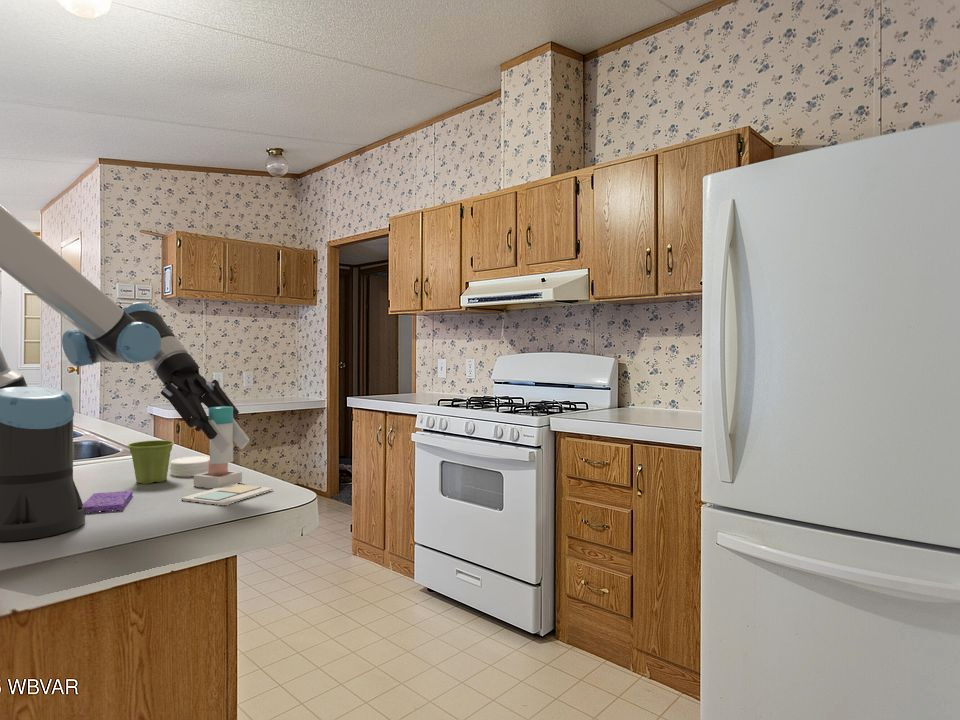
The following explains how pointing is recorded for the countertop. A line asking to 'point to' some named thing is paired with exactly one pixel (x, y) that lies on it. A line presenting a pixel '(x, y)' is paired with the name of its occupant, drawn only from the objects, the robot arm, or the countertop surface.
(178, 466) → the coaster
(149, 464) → the plant pot
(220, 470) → the button
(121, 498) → the sponges
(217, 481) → the button housing
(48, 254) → the robot arm
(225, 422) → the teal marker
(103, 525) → the countertop surface
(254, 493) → the picture card
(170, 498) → the countertop surface
